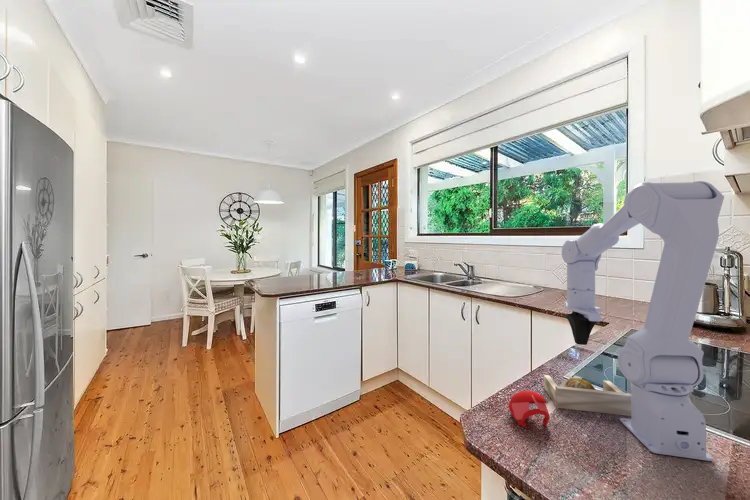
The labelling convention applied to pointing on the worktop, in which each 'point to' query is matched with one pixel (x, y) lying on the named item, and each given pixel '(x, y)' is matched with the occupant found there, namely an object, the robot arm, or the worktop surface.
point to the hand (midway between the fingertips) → (580, 343)
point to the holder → (590, 398)
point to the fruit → (578, 383)
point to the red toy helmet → (527, 406)
